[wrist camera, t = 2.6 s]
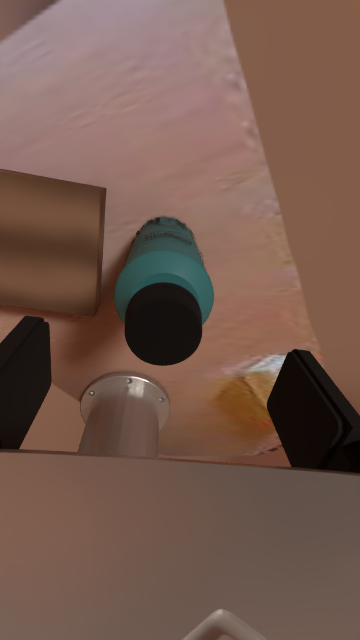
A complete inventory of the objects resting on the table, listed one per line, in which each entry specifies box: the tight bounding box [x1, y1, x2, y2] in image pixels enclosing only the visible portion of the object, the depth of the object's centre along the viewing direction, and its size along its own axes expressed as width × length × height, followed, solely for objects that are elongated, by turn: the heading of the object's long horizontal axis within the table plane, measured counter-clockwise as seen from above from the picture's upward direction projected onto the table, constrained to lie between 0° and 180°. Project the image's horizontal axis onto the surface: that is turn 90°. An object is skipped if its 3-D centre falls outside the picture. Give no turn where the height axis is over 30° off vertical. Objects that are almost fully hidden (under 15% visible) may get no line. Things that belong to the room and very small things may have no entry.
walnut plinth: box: [0, 169, 106, 317], centre depth 30 cm, size 13×13×3 cm
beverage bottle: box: [114, 216, 214, 366], centre depth 23 cm, size 6×7×20 cm
